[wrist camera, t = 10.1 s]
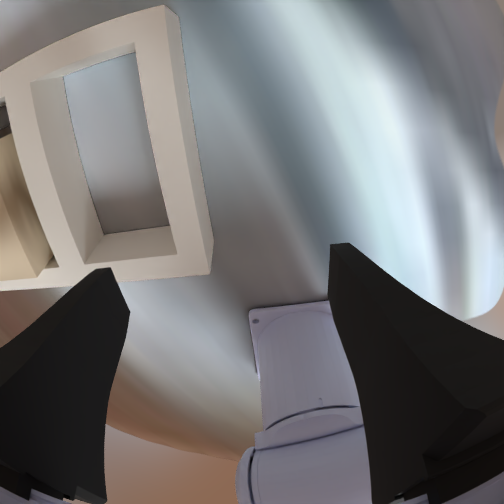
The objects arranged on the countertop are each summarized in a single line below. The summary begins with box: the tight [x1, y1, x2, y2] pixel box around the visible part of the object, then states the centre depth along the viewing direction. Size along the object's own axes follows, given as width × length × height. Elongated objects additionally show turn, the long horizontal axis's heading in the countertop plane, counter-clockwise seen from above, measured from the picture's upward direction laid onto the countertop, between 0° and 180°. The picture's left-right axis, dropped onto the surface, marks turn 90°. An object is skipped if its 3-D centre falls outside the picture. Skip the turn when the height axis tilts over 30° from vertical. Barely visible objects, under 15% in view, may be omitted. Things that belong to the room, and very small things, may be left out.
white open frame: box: [0, 4, 214, 291], centre depth 15 cm, size 14×17×4 cm
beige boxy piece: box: [0, 126, 54, 281], centre depth 15 cm, size 9×4×5 cm, turn 6°
